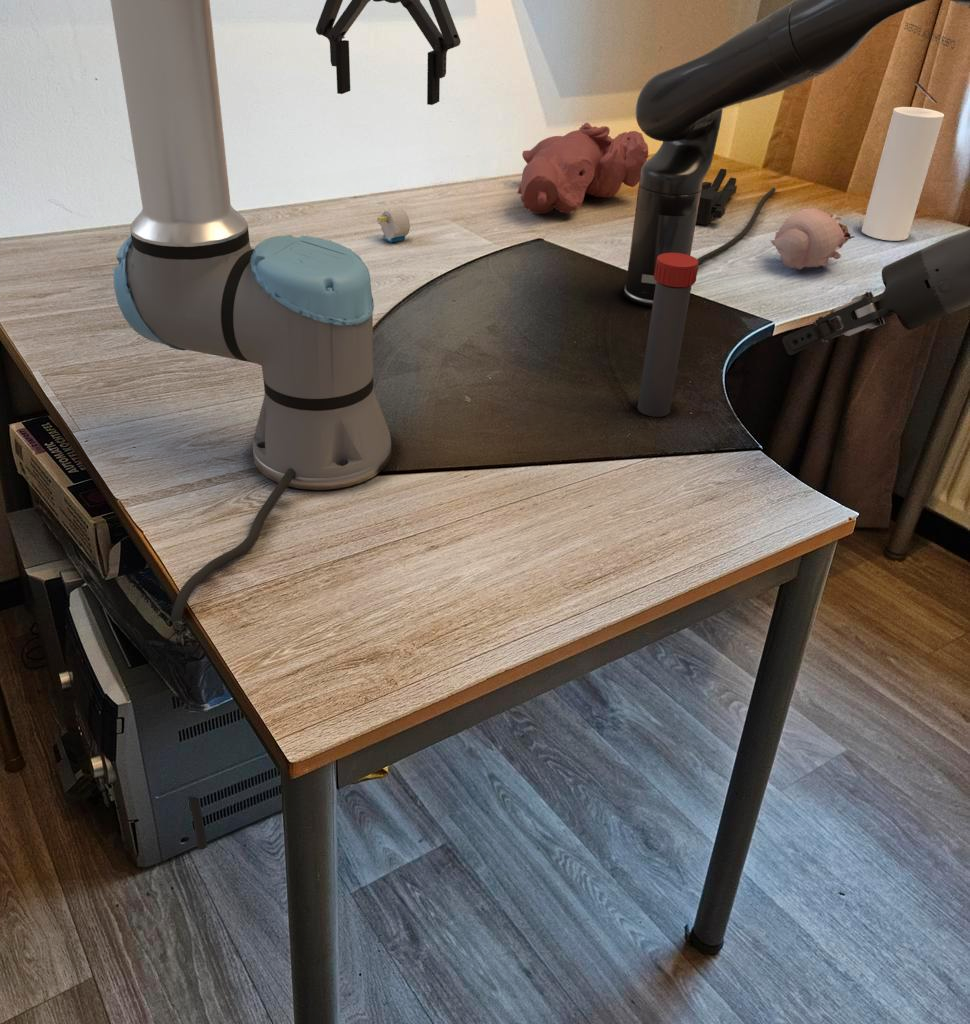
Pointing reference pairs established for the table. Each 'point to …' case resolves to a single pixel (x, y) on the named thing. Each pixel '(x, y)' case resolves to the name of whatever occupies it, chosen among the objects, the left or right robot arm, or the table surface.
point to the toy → (810, 238)
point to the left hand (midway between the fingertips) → (388, 97)
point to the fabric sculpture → (580, 168)
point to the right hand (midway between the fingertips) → (793, 344)
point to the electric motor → (394, 225)
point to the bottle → (663, 349)
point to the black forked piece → (714, 198)
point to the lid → (676, 269)
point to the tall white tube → (902, 168)
